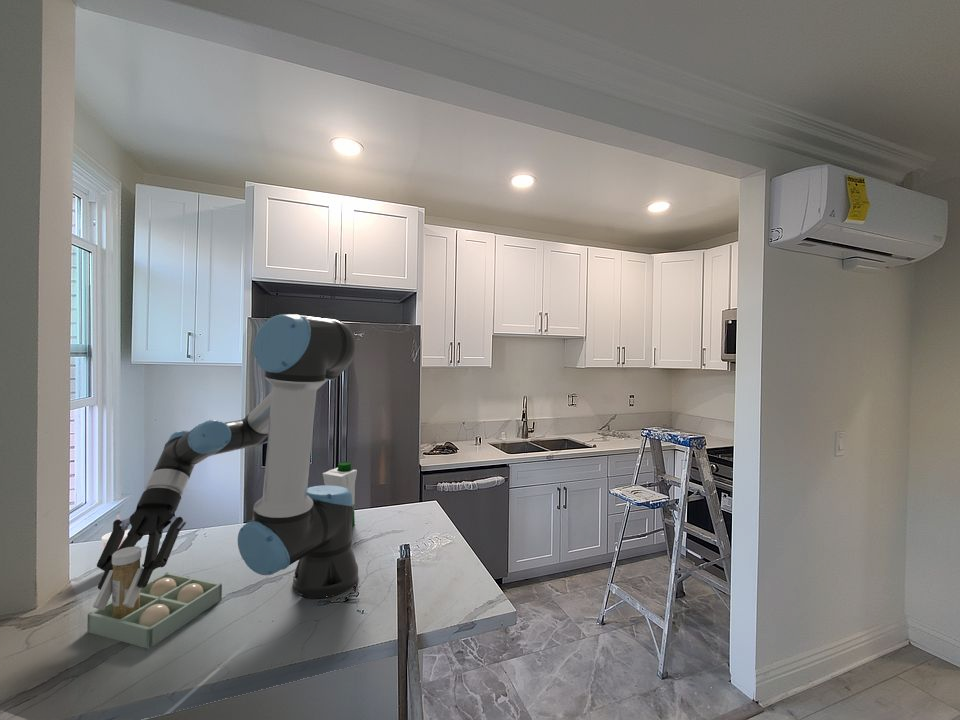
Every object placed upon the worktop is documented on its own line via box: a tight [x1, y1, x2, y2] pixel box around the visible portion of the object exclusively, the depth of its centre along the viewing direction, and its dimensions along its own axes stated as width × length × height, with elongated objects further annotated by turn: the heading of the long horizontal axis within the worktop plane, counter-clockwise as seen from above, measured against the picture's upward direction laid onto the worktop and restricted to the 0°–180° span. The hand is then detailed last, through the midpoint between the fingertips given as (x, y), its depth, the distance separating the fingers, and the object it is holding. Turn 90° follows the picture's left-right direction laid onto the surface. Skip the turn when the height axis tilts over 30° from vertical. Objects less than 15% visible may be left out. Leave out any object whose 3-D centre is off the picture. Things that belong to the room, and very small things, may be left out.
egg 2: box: [139, 604, 170, 627], centre depth 81 cm, size 5×5×5 cm
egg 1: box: [149, 578, 177, 597], centre depth 90 cm, size 5×5×5 cm
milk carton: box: [322, 461, 358, 526], centre depth 131 cm, size 9×9×20 cm
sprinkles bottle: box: [111, 545, 142, 620], centre depth 83 cm, size 5×5×13 cm
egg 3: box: [177, 583, 204, 603], centre depth 88 cm, size 5×5×5 cm
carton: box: [86, 572, 223, 649], centre depth 86 cm, size 16×16×4 cm
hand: (113, 606), depth 79 cm, fingers closed on sprinkles bottle, 4 cm apart
